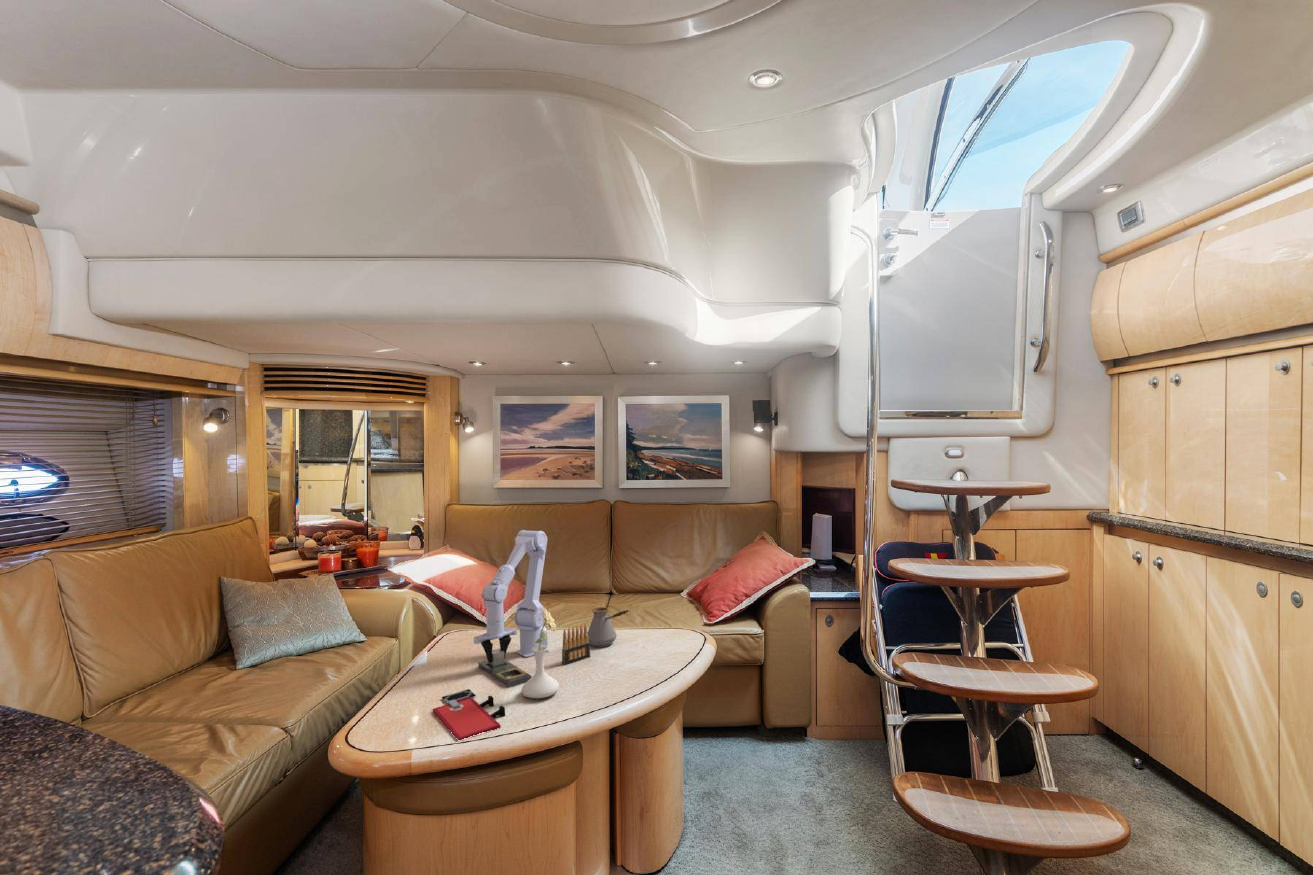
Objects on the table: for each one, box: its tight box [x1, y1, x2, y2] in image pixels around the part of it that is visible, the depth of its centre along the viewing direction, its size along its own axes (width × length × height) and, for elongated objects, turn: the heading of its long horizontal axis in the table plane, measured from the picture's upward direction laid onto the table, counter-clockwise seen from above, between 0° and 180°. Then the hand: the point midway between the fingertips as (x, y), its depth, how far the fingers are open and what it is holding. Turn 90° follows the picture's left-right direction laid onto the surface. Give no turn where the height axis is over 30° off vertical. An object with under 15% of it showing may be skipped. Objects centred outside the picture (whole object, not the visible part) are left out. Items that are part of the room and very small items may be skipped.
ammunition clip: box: [561, 622, 591, 666], centre depth 209 cm, size 11×2×12 cm, turn 133°
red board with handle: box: [432, 688, 506, 741], centre depth 170 cm, size 30×3×15 cm
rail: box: [477, 658, 533, 689], centre depth 199 cm, size 8×24×2 cm, turn 38°
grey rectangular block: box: [489, 648, 505, 668], centre depth 203 cm, size 4×4×6 cm
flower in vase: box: [521, 607, 561, 699], centre depth 182 cm, size 13×11×25 cm
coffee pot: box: [587, 606, 632, 648], centre depth 223 cm, size 21×12×15 cm, turn 47°
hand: (496, 660), depth 203 cm, fingers closed on grey rectangular block, 4 cm apart
